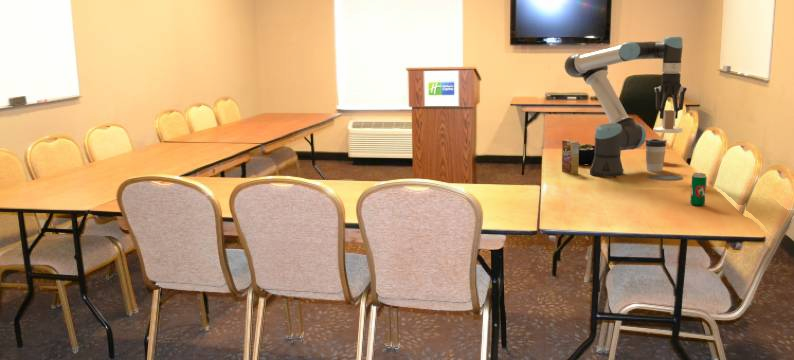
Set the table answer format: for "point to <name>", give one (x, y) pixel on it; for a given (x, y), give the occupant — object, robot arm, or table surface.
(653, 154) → the coffee cup
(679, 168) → the table surface
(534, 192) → the table surface
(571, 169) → the candy box
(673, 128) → the brown block on plate
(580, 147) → the black container
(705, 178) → the soda can
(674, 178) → the mat
